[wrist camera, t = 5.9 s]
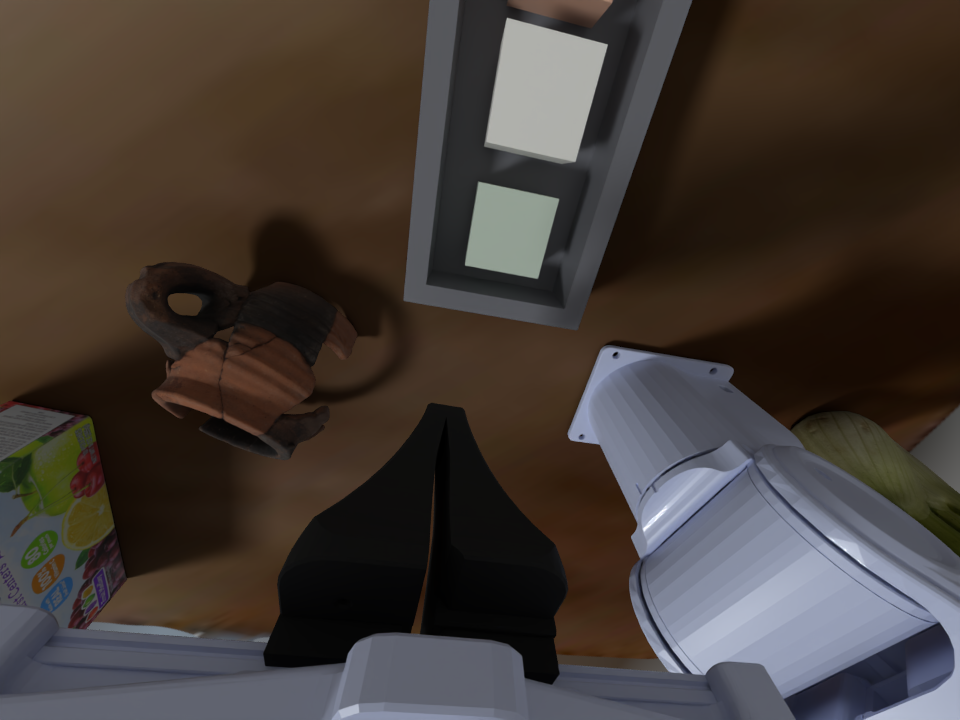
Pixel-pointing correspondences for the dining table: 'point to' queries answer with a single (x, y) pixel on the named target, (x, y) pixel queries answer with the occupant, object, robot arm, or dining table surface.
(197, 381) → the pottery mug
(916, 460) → the fennel bulb
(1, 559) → the snack box
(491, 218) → the key
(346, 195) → the dining table surface
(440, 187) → the grey rectangular tray
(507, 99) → the key mid
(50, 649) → the robot arm
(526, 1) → the key
